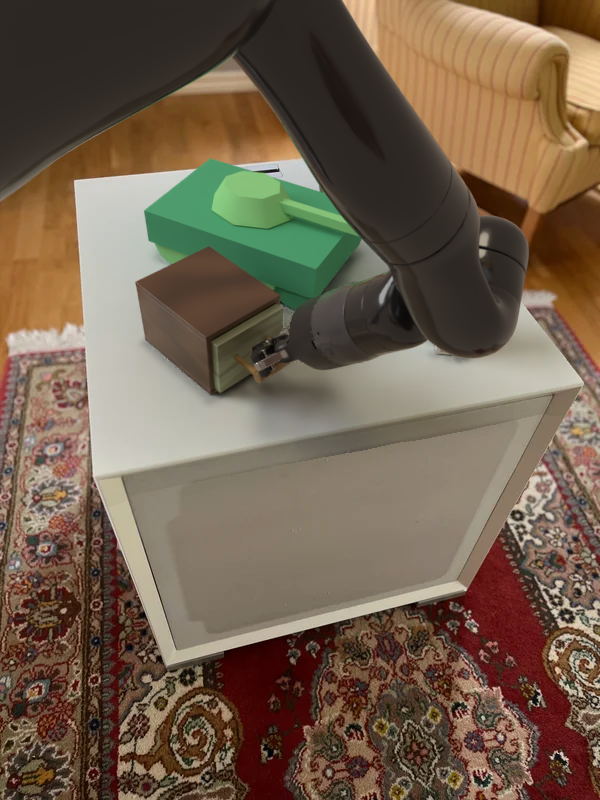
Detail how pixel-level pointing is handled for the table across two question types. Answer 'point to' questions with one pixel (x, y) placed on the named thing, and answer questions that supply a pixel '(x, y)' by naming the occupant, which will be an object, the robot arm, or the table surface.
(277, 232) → the toy tank
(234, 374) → the drawer
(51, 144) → the robot arm
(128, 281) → the table surface
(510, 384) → the table surface
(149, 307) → the cabinet
